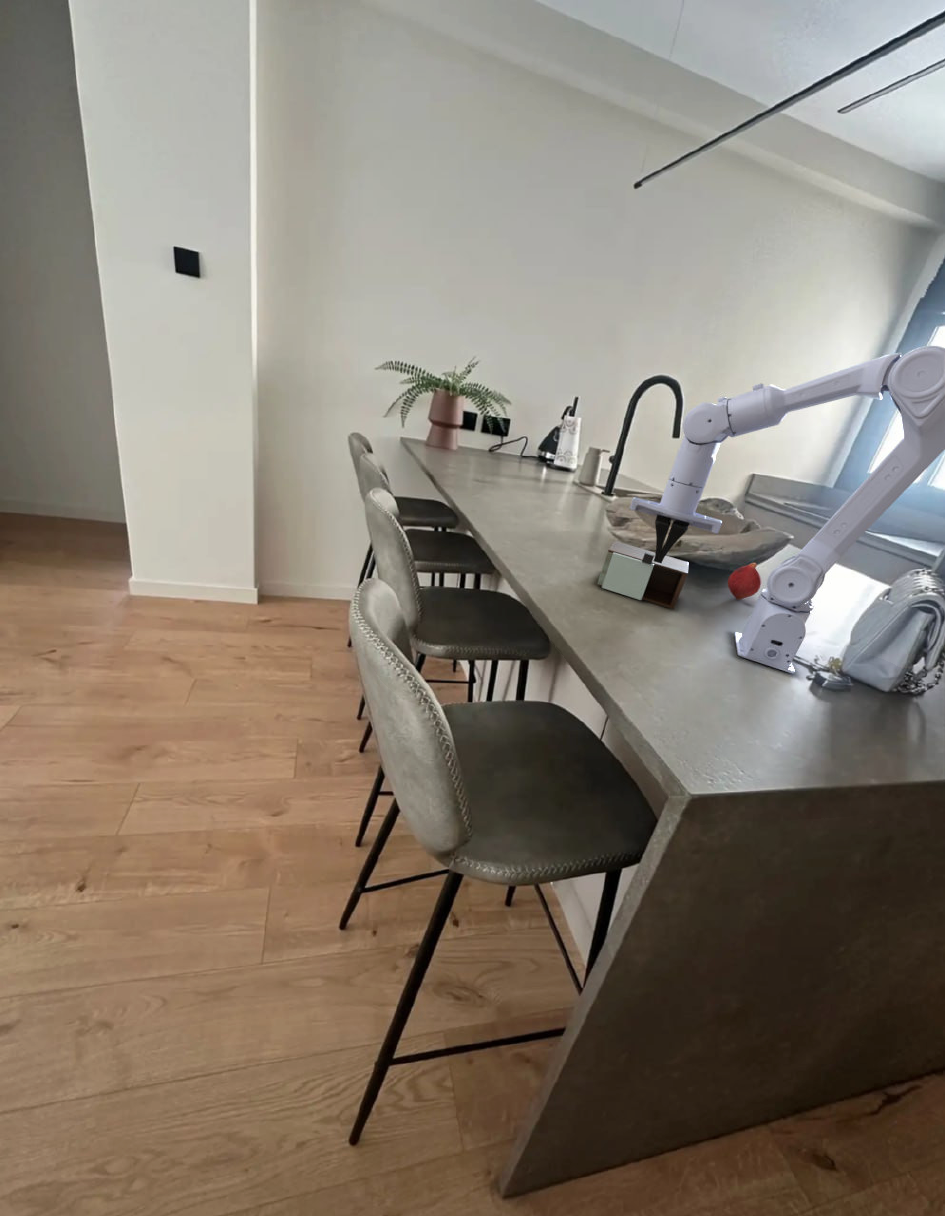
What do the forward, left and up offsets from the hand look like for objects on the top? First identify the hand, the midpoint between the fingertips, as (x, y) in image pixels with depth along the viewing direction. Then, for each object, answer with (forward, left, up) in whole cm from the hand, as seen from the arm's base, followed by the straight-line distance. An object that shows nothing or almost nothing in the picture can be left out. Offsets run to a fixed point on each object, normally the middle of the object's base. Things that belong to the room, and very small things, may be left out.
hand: (657, 561), depth 91 cm
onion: (+20, -17, -8) cm, 28 cm away
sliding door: (0, +4, -8) cm, 9 cm away
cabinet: (+5, +2, -8) cm, 9 cm away
